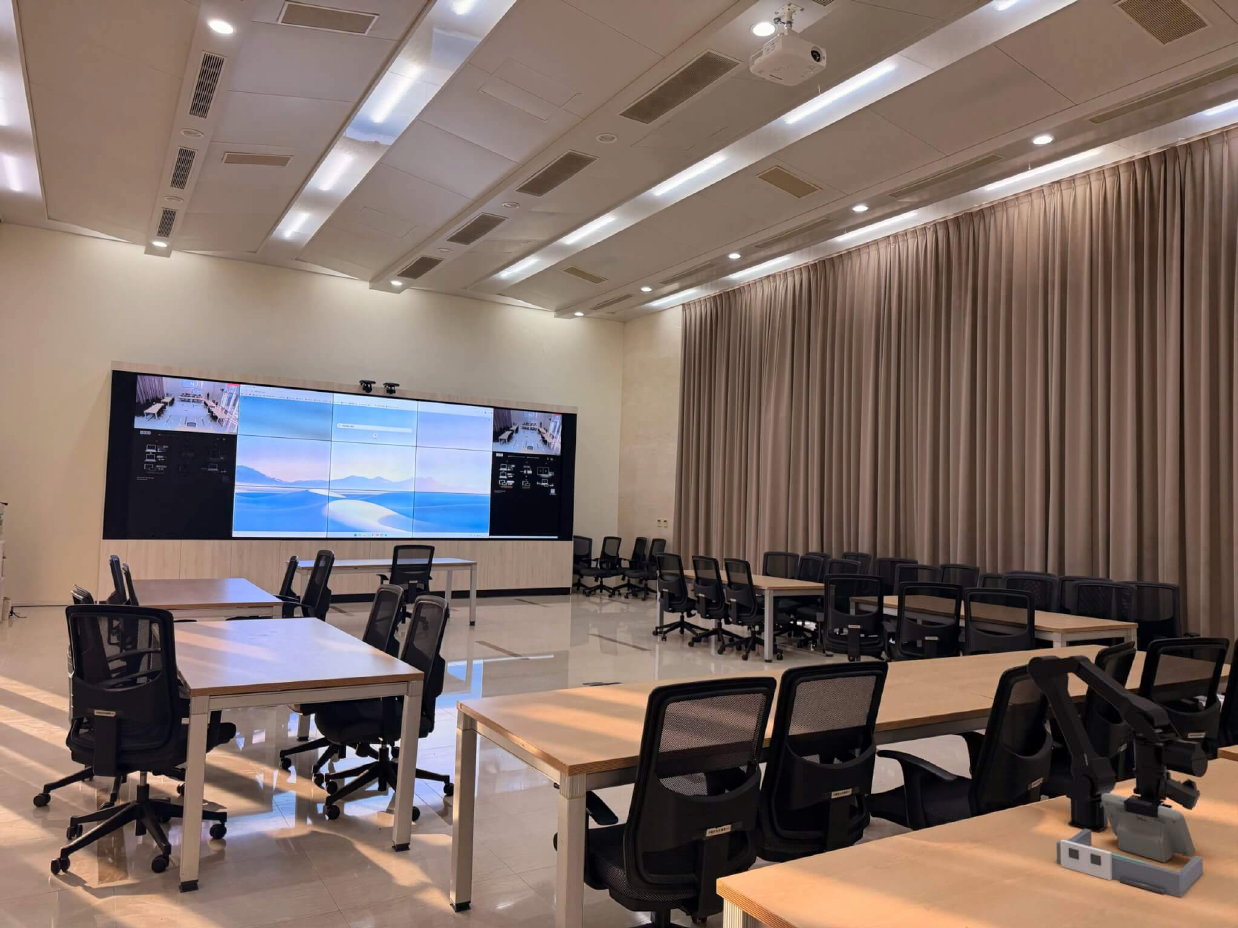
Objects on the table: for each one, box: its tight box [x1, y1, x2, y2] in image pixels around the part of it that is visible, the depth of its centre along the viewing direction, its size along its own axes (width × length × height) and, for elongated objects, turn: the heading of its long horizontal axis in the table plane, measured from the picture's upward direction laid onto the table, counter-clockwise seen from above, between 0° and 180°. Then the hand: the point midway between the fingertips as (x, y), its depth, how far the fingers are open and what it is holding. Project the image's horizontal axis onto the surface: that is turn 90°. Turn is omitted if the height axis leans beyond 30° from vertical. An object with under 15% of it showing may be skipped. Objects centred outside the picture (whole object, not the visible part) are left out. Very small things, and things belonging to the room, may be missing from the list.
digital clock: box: [1101, 792, 1196, 864], centre depth 176 cm, size 16×9×11 cm, turn 24°
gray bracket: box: [1056, 828, 1204, 898], centre depth 168 cm, size 21×18×5 cm
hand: (1154, 839), depth 179 cm, fingers closed, pressing on digital clock
